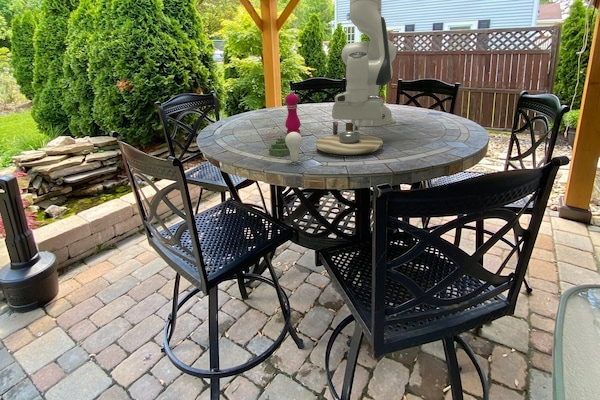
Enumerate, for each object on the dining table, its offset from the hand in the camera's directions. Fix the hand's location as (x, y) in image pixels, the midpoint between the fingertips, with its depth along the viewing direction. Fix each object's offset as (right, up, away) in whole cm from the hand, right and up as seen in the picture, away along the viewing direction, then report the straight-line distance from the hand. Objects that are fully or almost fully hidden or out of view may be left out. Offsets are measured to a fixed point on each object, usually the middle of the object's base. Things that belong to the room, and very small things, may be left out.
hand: (356, 130), depth 154 cm
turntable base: (-4, -9, -6) cm, 12 cm away
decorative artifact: (-31, -11, -7) cm, 33 cm away
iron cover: (-4, -6, -8) cm, 11 cm away
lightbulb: (-25, -15, -19) cm, 35 cm away
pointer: (-8, -3, +8) cm, 12 cm away
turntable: (-4, -7, -7) cm, 11 cm away
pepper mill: (-27, +2, +23) cm, 35 cm away
